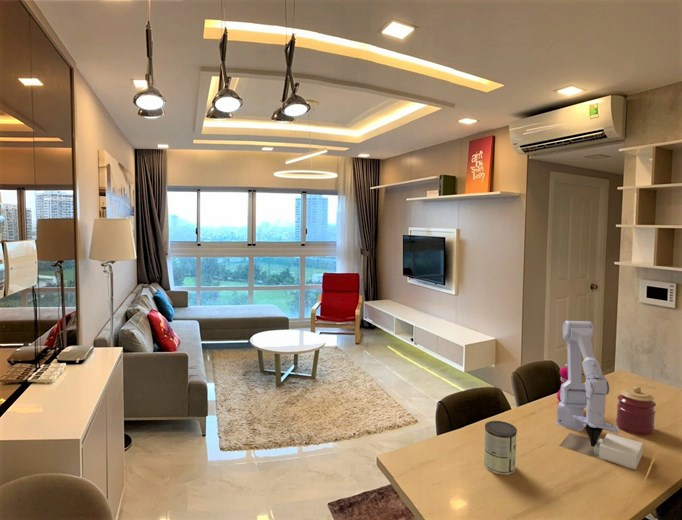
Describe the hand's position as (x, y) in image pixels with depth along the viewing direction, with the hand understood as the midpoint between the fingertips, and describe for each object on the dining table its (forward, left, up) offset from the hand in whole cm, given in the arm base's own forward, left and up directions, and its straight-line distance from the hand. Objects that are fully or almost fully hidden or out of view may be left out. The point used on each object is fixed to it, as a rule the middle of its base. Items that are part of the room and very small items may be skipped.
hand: (593, 445), depth 162 cm
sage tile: (+7, 0, -1) cm, 7 cm away
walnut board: (+2, 0, -1) cm, 3 cm away
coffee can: (-21, -35, -2) cm, 41 cm away
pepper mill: (-19, +33, -2) cm, 38 cm away
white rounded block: (+8, 0, -1) cm, 8 cm away
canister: (+8, +30, -2) cm, 31 cm away
